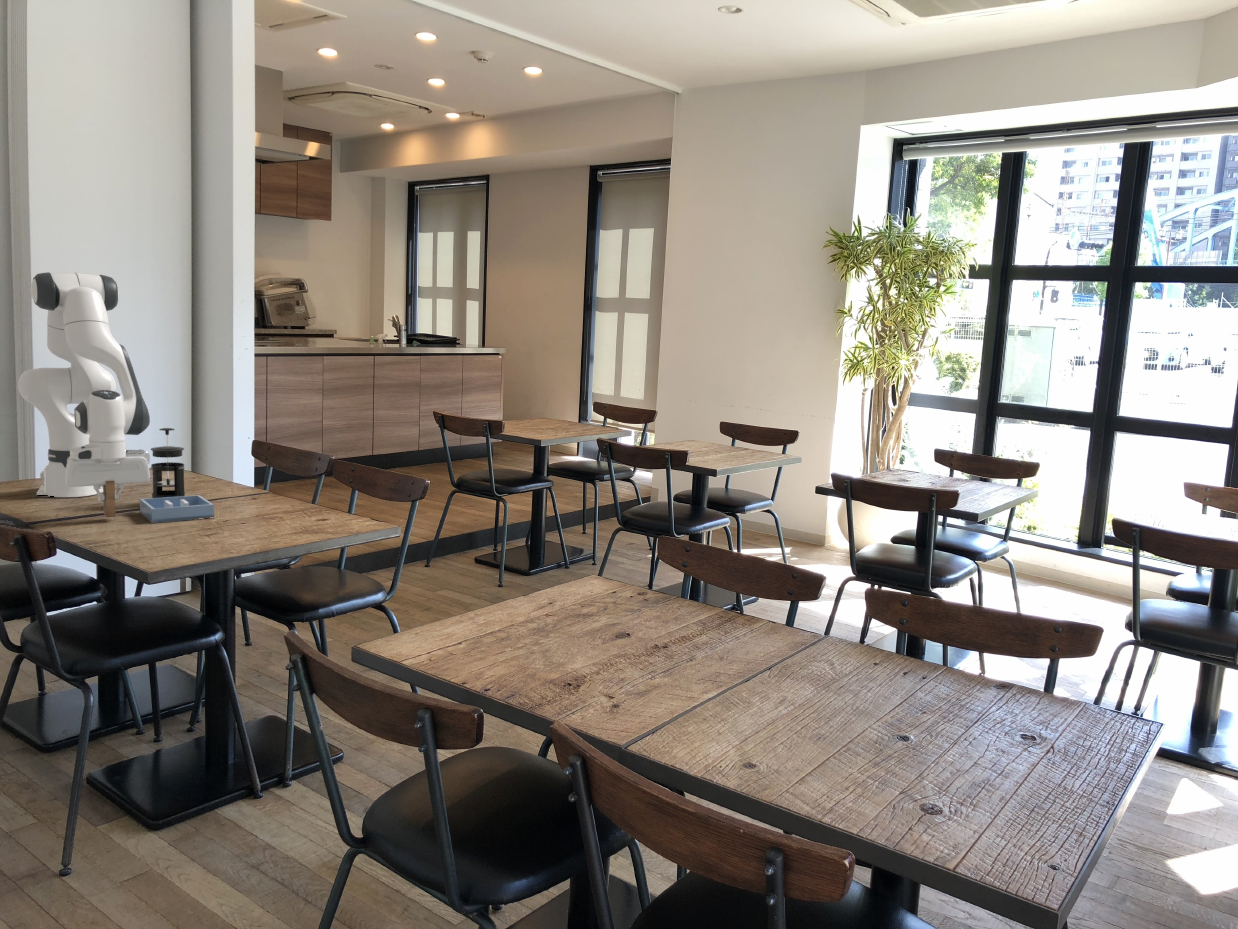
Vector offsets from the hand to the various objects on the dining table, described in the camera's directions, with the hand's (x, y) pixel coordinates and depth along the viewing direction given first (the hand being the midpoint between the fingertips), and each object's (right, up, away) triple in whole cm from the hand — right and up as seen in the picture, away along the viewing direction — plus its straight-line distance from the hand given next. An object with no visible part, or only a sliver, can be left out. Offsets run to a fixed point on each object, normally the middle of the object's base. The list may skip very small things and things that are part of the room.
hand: (109, 500), depth 253 cm
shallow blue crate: (+13, -5, +11) cm, 18 cm away
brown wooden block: (0, -4, +1) cm, 4 cm away
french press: (+4, -2, +26) cm, 27 cm away
